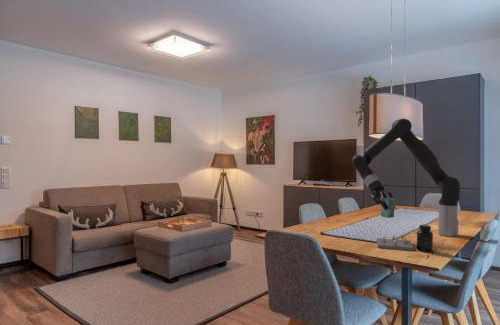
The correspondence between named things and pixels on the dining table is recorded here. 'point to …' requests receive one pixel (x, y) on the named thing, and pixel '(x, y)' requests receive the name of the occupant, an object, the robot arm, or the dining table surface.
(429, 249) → the supplement bottle
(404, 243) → the base plate
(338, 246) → the dining table surface
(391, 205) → the teal block
